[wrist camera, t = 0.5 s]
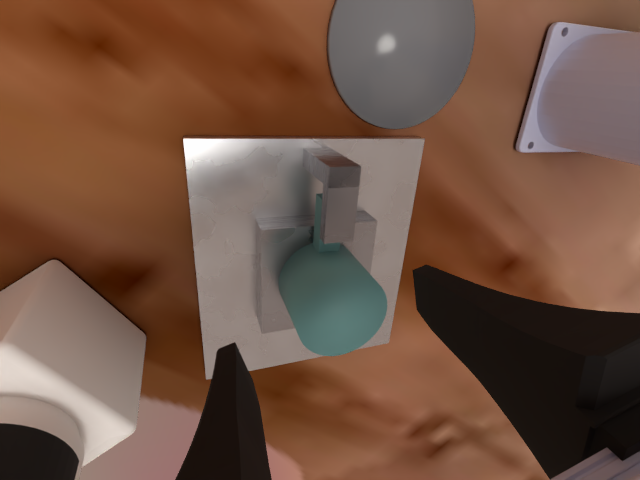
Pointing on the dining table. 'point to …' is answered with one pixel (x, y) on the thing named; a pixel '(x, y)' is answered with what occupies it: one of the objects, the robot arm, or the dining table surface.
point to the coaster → (399, 56)
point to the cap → (331, 296)
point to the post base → (279, 192)
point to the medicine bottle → (63, 375)
